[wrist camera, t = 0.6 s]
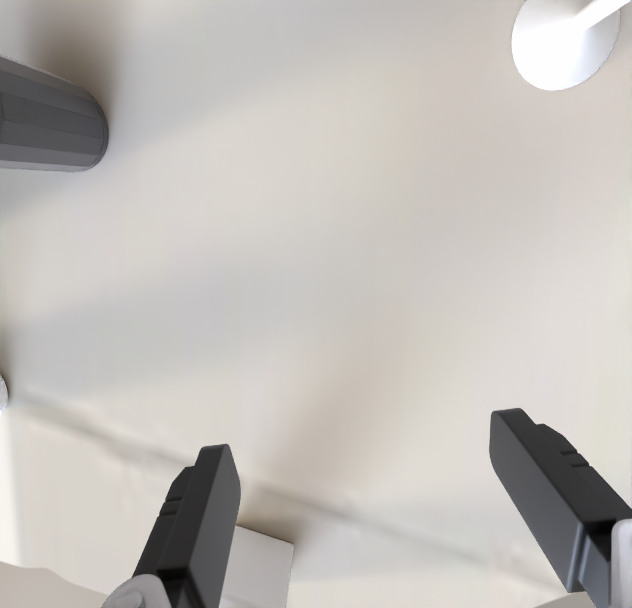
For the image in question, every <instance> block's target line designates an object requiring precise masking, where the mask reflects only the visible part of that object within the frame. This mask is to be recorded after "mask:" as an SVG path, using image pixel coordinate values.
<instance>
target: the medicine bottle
mask: <svg viewBox="0 0 632 608" xmlns="http://www.w3.org/2000/svg"><path fill="white" fill-rule="evenodd" d="M293 551H294V545H293V544H291V543H288V542H285V541H282V540H279V539H276V538H273V537H270V536H267V535H264V534H261V533H258V532H255V531H252V530H249V529H246V528H243V527H240V526H236V525H235V530H234V535H233V540H232V545H231V550H230V555H229V559H228V564H227V569H226V574H225V579H224V584H223V589H222V594H221V599H220V604H219V608H286V603H287V595H288V588H289V581H290V573H291V566H292V559H293Z"/></svg>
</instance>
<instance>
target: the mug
mask: <svg viewBox="0 0 632 608" xmlns="http://www.w3.org/2000/svg"><path fill="white" fill-rule="evenodd" d="M7 401H8V393H7V387H6V384H5V382H4V380H3V378H2V376H1V374H0V415H1V414H2V413H3V411H4V409H5V407H6V405H7Z"/></svg>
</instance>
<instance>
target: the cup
mask: <svg viewBox="0 0 632 608" xmlns="http://www.w3.org/2000/svg"><path fill="white" fill-rule="evenodd" d="M107 143H108V128H107V123H106V119H105V116H104V114H103V111H102V109H101V107H100V106H99V104H98V103H97V101H96V100H95V99H94V97H93V96H92V95H91V94H90V93H89V92H88V91H86V90H85V89H84V88H83V87H81V86H79V85H78V84H75V83H73V82H71V81H69V80H67V79H65V78H62V77H60V76H57V75H55V74H52V73H49V72H47V71H44V70H42V69H39V68H37V67H34V66H31V65H29V64H26V63H24V62H21V61H18V60H16V59H13V58H11V57H8V56H6V55H3V54H0V168H8V169H27V170H46V171H64V172H80V171H85V170H88V169H90V168H92V167H93V166H95V165H96V164H97V163H98V162H99V161H100V160H101V158H102V157H103V155H104V153H105V150H106V148H107Z"/></svg>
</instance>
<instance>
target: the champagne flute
mask: <svg viewBox="0 0 632 608" xmlns="http://www.w3.org/2000/svg"><path fill="white" fill-rule="evenodd" d="M630 1H632V0H526V1H525V2H524V4H523V5H522V7H521V9H520V11H519V13H518V15H517V18H516V21H515V24H514V27H513V33H512V54H513V58H514V62H515V65H516V67H517V69H518V71H519V72H520V74H521V75H522V76H523V77H524V79H525V80H527V81H528V82H529V83H530V84H532V85H534V86H536V87H538V88H540V89H545V90H563V89H567V88H571V87H573V86H575V85H577V84H580V83H581V82H583V81H584V80H586V79H587V78H589V77H590V76H591V75H592V74H594V73H595V72H596V71H597V70H598V69H599V68H600V67H601V65H602V64H603V63H604V62H605V60H606V59H607V57H608V56H609V54H610V52H611V50H612V49H613V46H614V44H615V41H616V38H617V35H618V30H619V26H620V9H619V8H621V7H622V6H624V5H625V4H627V3H628V2H630Z"/></svg>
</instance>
